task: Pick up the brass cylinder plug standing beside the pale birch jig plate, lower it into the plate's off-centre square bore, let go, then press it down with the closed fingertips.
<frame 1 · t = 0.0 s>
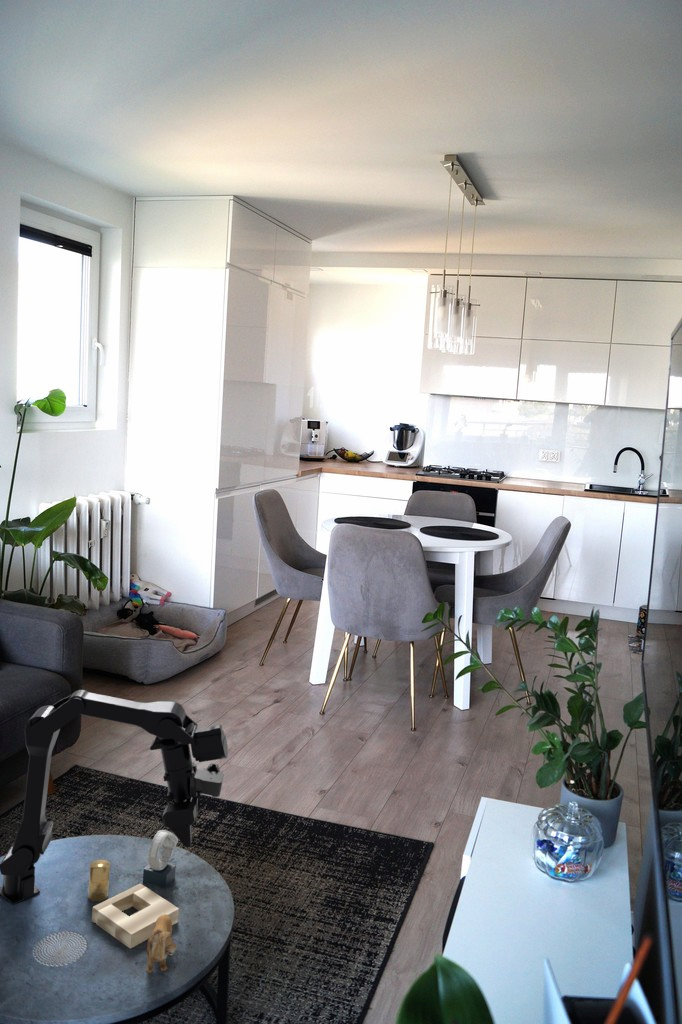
hand: (191, 835, 179), 15 cm above the table, tool pointing down, fingers open, 9 cm apart
jig: (135, 921, 173), on the table
brass cylinder plug: (98, 895, 180), on the table
watch: (158, 880, 188), on the table
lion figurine: (160, 961, 163), on the table
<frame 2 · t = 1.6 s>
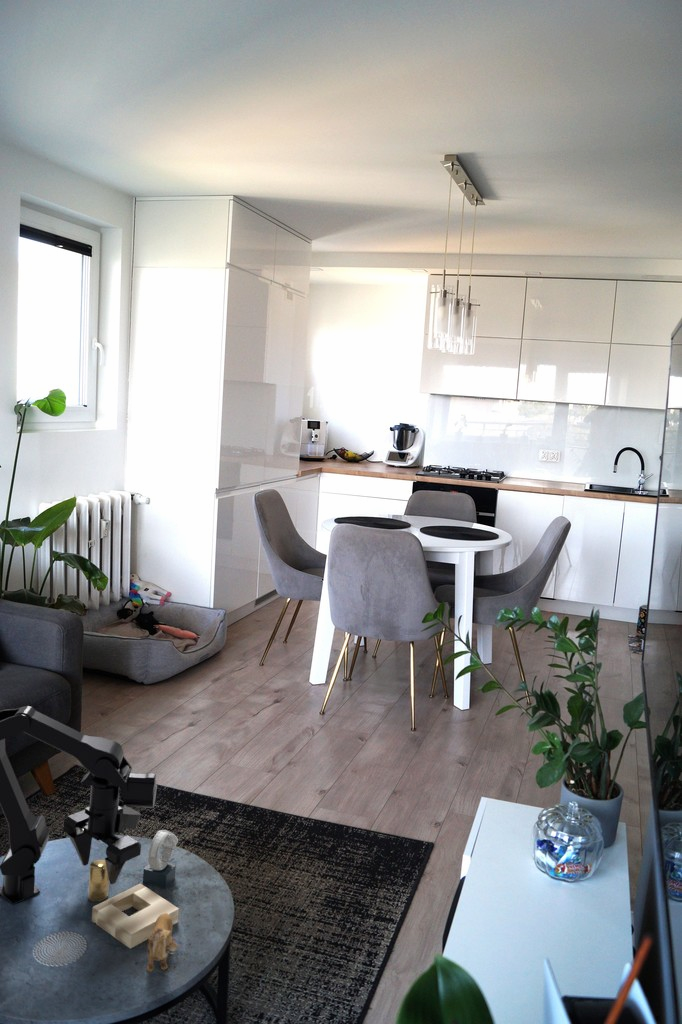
hand: (98, 873, 180), 5 cm above the table, tool pointing down, fingers open, 9 cm apart
nothing on the table moved.
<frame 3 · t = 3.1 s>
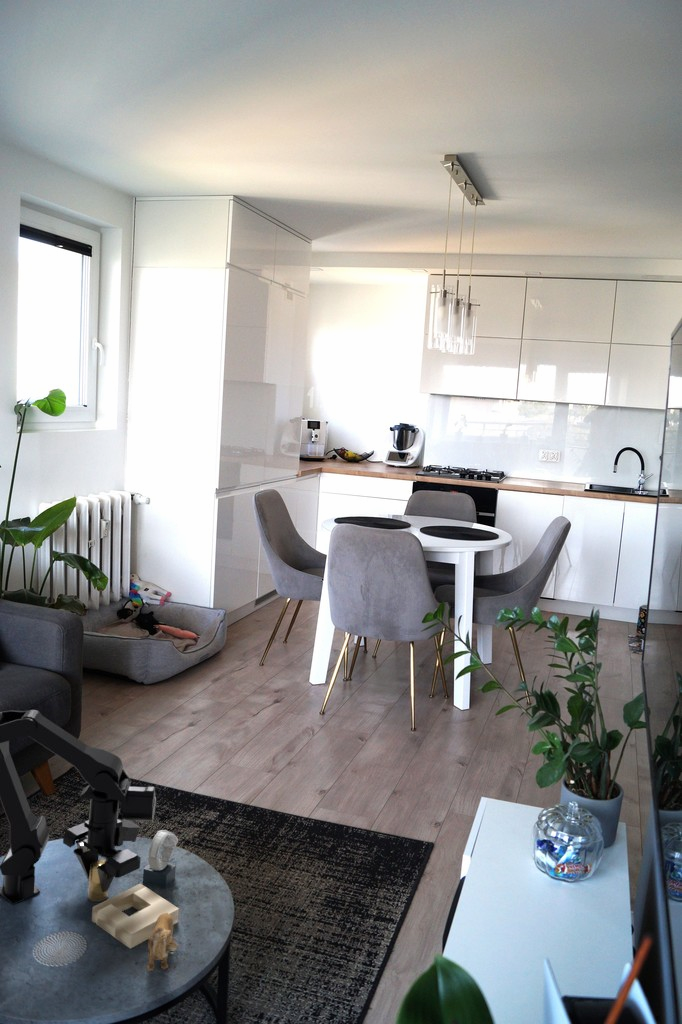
hand: (98, 886, 180), 2 cm above the table, tool pointing down, fingers closed on brass cylinder plug, 4 cm apart
brass cylinder plug: (98, 895, 180), on the table, touching gripper
everything else where it was.
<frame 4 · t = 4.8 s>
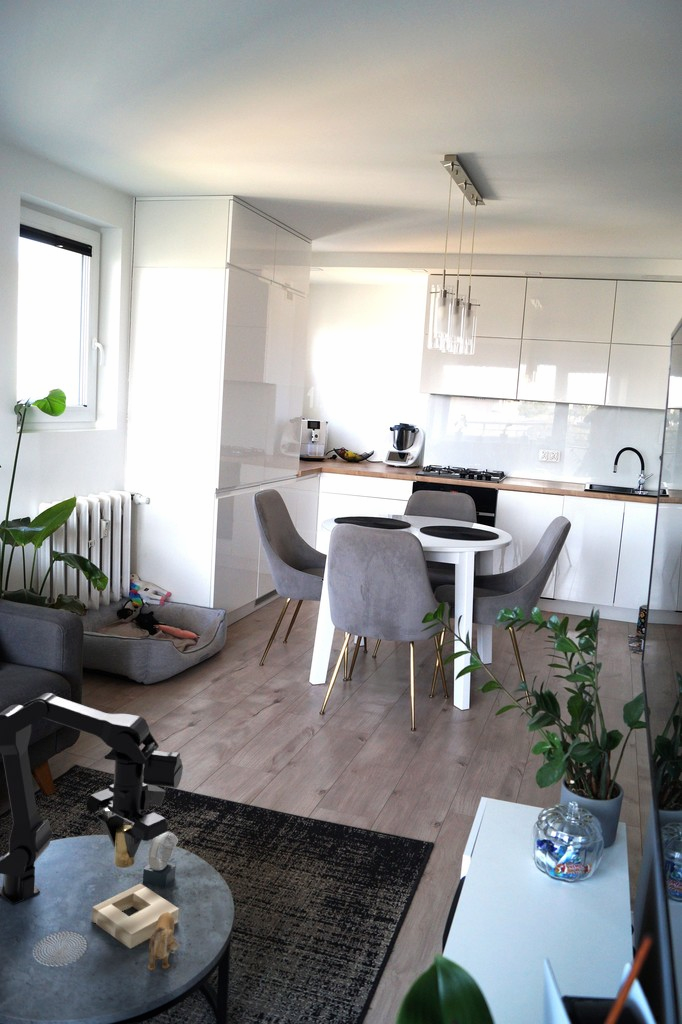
hand: (124, 853, 175), 12 cm above the table, tool pointing down, fingers closed on brass cylinder plug, 4 cm apart
brass cylinder plug: (124, 862, 175), point 10 cm above the table, touching gripper
everything else where it was.
when the fingers open (4 cm above the table, at t = 6.9 s): brass cylinder plug drops 2 cm, resting in jig.
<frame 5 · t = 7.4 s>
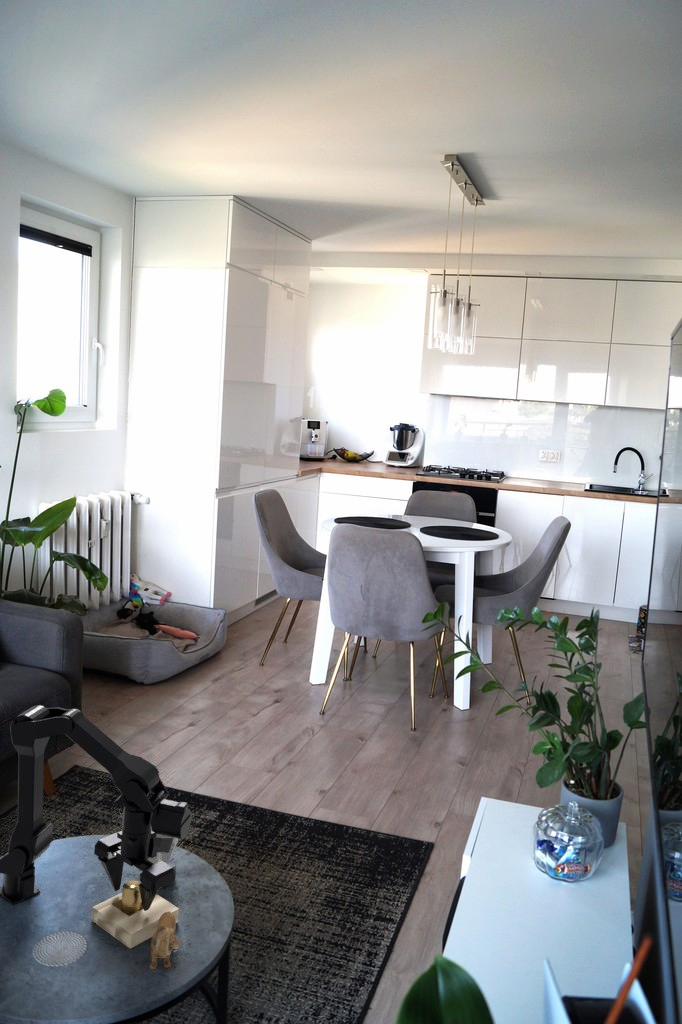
hand: (131, 899, 174), 4 cm above the table, tool pointing down, fingers open, 9 cm apart
brass cylinder plug: (130, 918, 174), resting in jig
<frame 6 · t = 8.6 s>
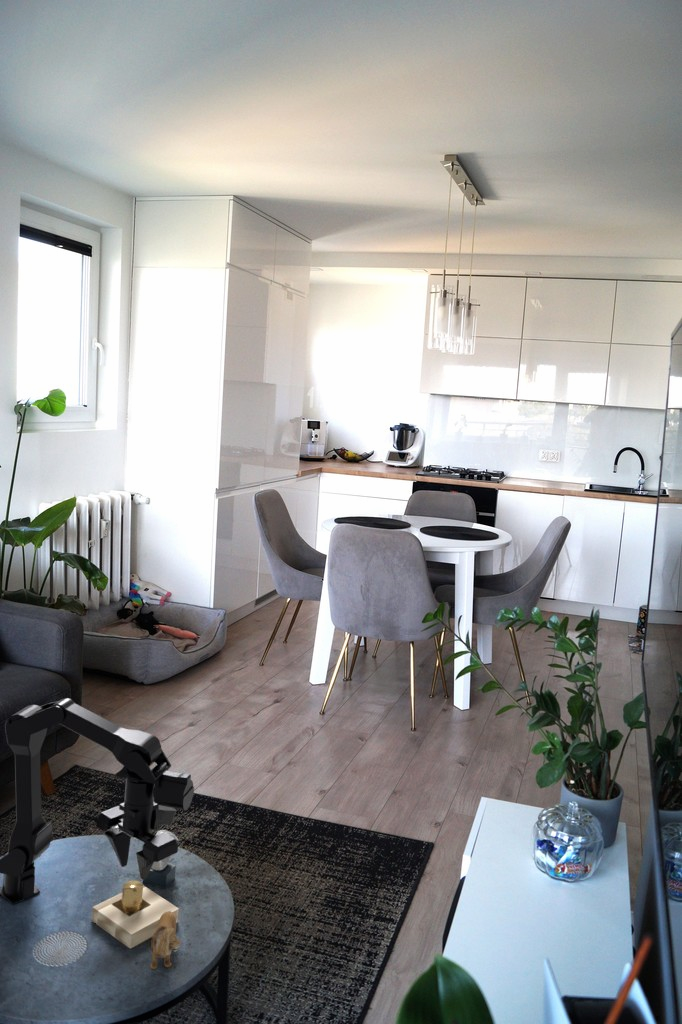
hand: (133, 872, 173), 10 cm above the table, tool pointing down, fingers open, 6 cm apart
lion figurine: (165, 957, 164), on the table, touching jig
everything else where it was.
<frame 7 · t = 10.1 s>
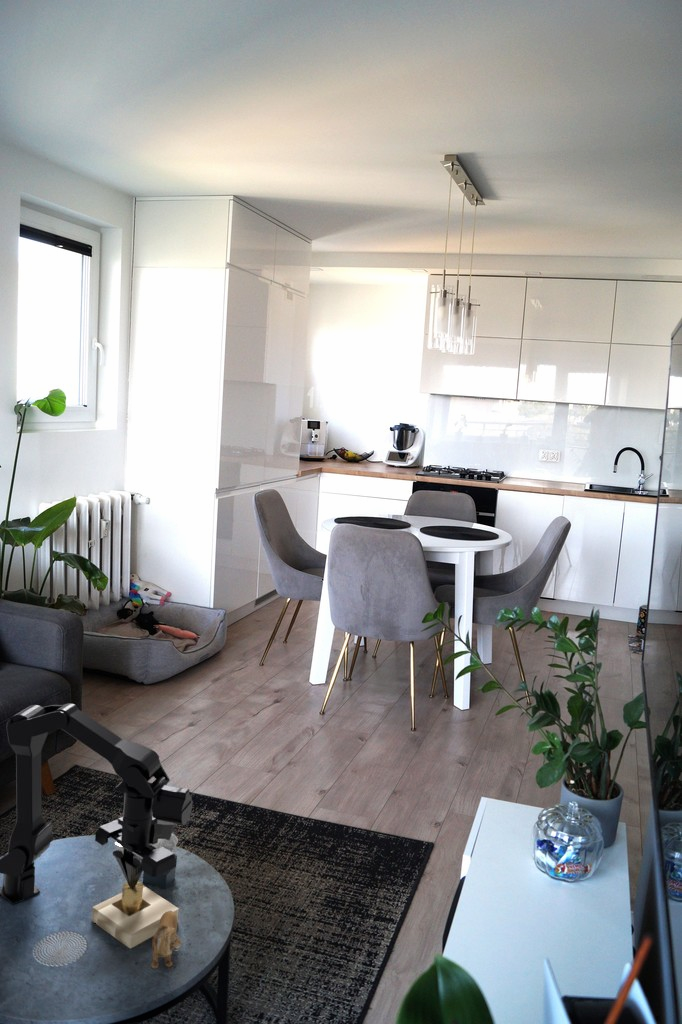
hand: (132, 886, 173), 7 cm above the table, tool pointing down, fingers closed, pressing on brass cylinder plug
brass cylinder plug: (130, 918, 174), resting in jig, touching gripper
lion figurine: (166, 957, 164), on the table
everything else where it was.
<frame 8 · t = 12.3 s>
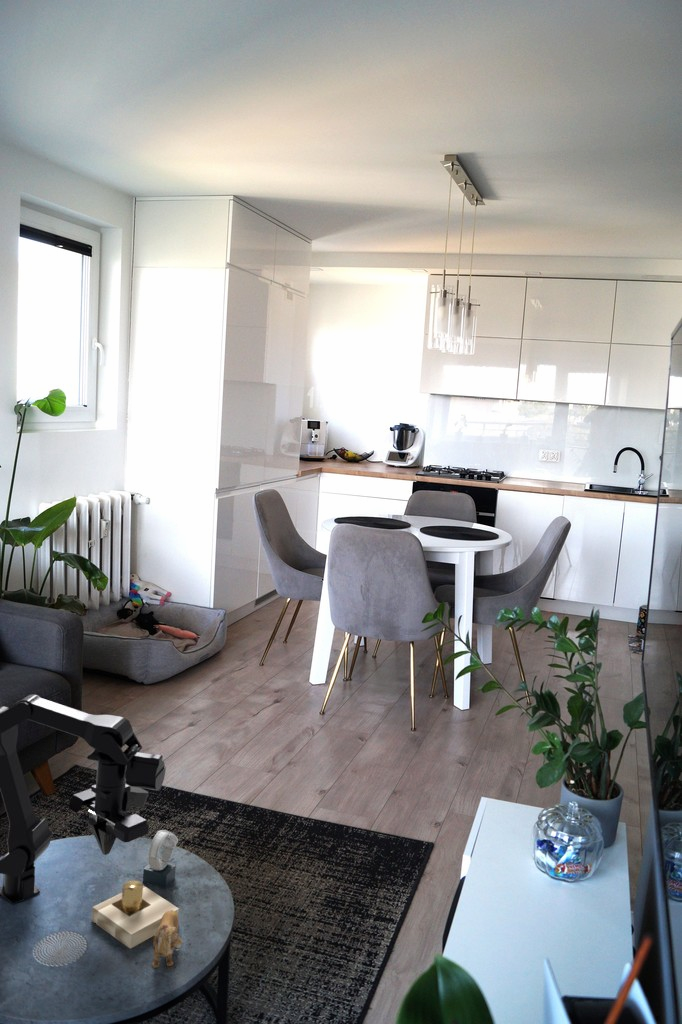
hand: (105, 853, 175), 12 cm above the table, tool pointing down, fingers closed
brass cylinder plug: (130, 918, 174), resting in jig
everything else where it was.
at the end: brass cylinder plug 0.1 cm from the target spot on the jig, point 0.0 cm above the jig's base; brass cylinder plug tilted 0°; the gripper is holding nothing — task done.
